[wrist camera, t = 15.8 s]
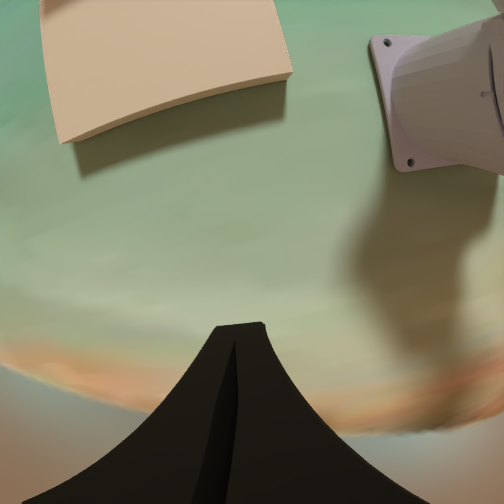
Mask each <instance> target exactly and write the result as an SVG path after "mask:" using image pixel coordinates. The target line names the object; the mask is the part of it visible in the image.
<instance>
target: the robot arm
mask: <svg viewBox="0 0 504 504" xmlns="http://www.w3.org/2000/svg"><path fill="white" fill-rule="evenodd" d="M492 2H493V3H494V5H495V7H496V8H497V10H498V11H499V12H503V13H501V14H499V15H496V16H493V17H489V18H486V19H483V20H480V21H477V22H474V23H471V24H468V25H465V26H462V27H459V28H457V29H454V30H451V31H448V32H446V33H443V34H441V35H438V36H435V37H429V36H410V35H375V36H373V37H372V38H370V40H369V45H370V49H371V52H372V56H373V60H374V64H375V68H376V72H377V76H378V80H379V85H380V89H381V94H382V99H383V104H384V109H385V114H386V119H387V125H388V131H389V137H390V143H391V149H392V156H393V164H394V167H395V169H396V170H397V171H399V172H410V171H416V170H423V169H429V168H436V167H443V166H450V165H457V164H465V165H468V166H472V167H476V168H479V169H483V170H486V171H490V172H493V173H497V174H500V175H503V176H504V0H492ZM383 40H385V41H387V42H388V44H389V47H386V46H385V45H384V43H383ZM408 159H411V160H412V164H411V165H410V166H408V164H407V161H408ZM22 504H430V503H428V502H426V501H424V500H423V499H421V498H419V497H418V496H416V495H414V494H412V493H411V492H409V491H407V490H406V489H404V488H403V487H401V486H400V485H398V484H397V483H395V482H394V481H392V480H391V479H389V478H388V477H387V476H385V475H384V474H383V473H381V472H380V471H379V470H377V469H376V468H374V467H373V466H372V465H370V464H369V463H368V462H367V461H366V460H364V459H363V458H362V457H361V456H360V455H359V454H357V453H356V452H355V451H354V450H353V449H352V448H351V447H350V446H348V445H347V444H346V443H345V442H344V441H343V440H342V439H341V438H340V437H339V436H338V435H337V434H336V433H335V432H334V431H333V430H332V429H331V428H330V427H329V426H328V425H327V424H326V423H325V422H324V421H323V420H322V419H321V418H320V416H319V415H318V414H317V413H316V412H315V411H314V410H313V408H312V407H311V406H310V405H309V403H308V402H307V401H306V400H305V398H304V397H303V396H302V394H301V393H300V392H299V390H298V389H297V388H296V386H295V385H294V383H293V382H292V380H291V379H290V377H289V376H288V374H287V373H286V371H285V369H284V368H283V366H282V364H281V363H280V361H279V359H278V357H277V356H276V354H275V352H274V350H273V347H272V345H271V343H270V341H269V338H268V336H267V332H266V327H265V324H263V323H262V322H261V321H260V322H252V323H243V324H233V325H224V326H216V327H215V328H214V330H213V331H212V333H211V334H210V336H209V338H208V339H207V341H206V342H205V344H204V346H203V347H202V349H201V350H200V352H199V353H198V355H197V356H196V358H195V359H194V361H193V362H192V364H191V365H190V366H189V368H188V369H187V371H186V372H185V374H184V375H183V376H182V378H181V379H180V380H179V382H178V383H177V384H176V385H175V387H174V388H173V389H172V390H171V392H170V393H169V394H168V395H167V397H166V398H165V399H164V400H163V402H162V403H161V404H160V405H159V406H158V407H157V408H156V409H155V411H154V412H153V413H152V414H151V415H150V416H149V417H148V418H147V419H146V420H145V421H144V422H143V423H142V424H141V425H140V426H139V427H138V428H137V429H136V430H135V431H134V432H133V433H132V434H130V435H129V436H128V437H127V438H126V439H125V440H123V442H121V443H120V444H119V445H117V446H116V447H115V448H114V449H113V450H111V451H110V452H109V453H108V454H106V455H105V456H104V457H102V458H101V459H100V460H98V461H97V462H96V463H94V464H92V465H91V466H90V467H88V468H87V469H85V470H83V471H82V472H80V473H79V474H77V475H75V476H74V477H72V478H71V479H69V480H67V481H65V482H63V483H62V484H60V485H58V486H56V487H54V488H52V489H50V490H48V491H46V492H44V493H41V494H39V495H37V496H35V497H33V498H31V499H28V500H26V501H23V502H22Z"/></svg>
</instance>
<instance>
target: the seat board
mask: <svg viewBox="0 0 504 504" xmlns="http://www.w3.org/2000/svg"><path fill="white" fill-rule="evenodd" d="M39 7H40V24H41V36H42V46H43V55H44V63H45V70H46V77H47V84H48V90H49V95H50V101H51V106H52V111H53V116H54V121H55V125H56V130H57V134H58V139H59V143H60V144H65V143H72V142H79V141H83V140H85V139H87V138H90V137H92V136H95V135H97V134H99V133H102V132H104V131H107V130H109V129H112V128H114V127H117V126H119V125H122V124H125V123H127V122H130V121H133V120H136V119H138V118H141V117H144V116H147V115H150V114H153V113H156V112H159V111H162V110H165V109H168V108H171V107H175V106H178V105H181V104H184V103H188V102H191V101H195V100H198V99H202V98H206V97H210V96H213V95H217V94H221V93H225V92H230V91H234V90H238V89H243V88H247V87H252V86H257V85H262V84H267V83H272V82H277V81H283V80H287V79H288V78H289V77H290V75H291V74H292V73H293V69H292V65H291V62H290V58H289V54H288V50H287V47H286V43H285V39H284V36H283V32H282V29H281V25H280V22H279V18H278V15H277V12H276V8H275V5H274V2H273V0H39Z"/></svg>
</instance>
